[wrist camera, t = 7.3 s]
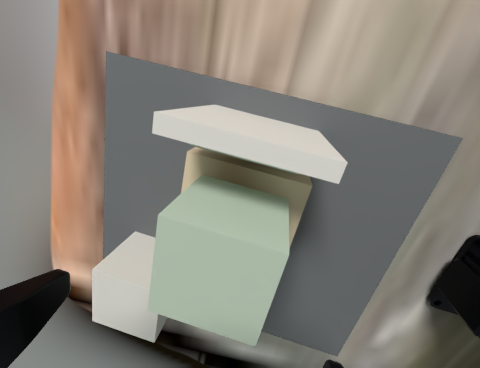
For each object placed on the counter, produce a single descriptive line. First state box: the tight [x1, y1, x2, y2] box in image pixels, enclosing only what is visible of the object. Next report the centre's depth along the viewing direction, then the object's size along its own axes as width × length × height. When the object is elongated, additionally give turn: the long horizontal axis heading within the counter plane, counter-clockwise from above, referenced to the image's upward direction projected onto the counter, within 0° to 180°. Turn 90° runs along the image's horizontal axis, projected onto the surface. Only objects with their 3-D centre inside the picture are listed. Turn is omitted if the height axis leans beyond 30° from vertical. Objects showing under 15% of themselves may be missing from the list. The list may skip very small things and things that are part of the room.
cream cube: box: [92, 231, 168, 342], centre depth 19 cm, size 5×5×5 cm
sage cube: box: [148, 175, 289, 347], centre depth 12 cm, size 5×5×5 cm
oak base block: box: [181, 147, 312, 248], centre depth 16 cm, size 7×7×4 cm
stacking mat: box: [103, 51, 463, 356], centre depth 16 cm, size 23×20×9 cm
